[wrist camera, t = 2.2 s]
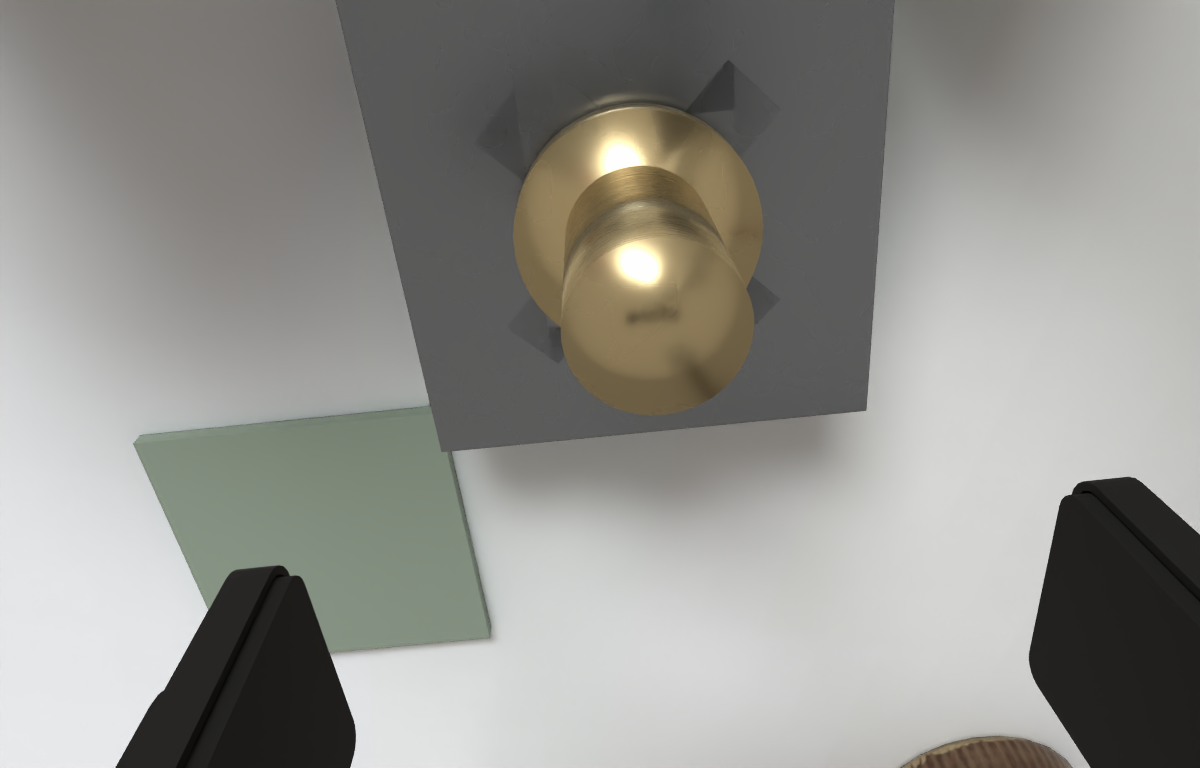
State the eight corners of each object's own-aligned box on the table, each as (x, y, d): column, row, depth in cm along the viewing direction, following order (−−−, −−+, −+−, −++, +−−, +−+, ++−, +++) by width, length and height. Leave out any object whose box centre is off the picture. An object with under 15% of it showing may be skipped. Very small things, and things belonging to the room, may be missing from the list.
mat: (440, 405, 31) (438, 413, 31) (491, 628, 37) (489, 637, 37) (140, 435, 32) (133, 443, 31) (236, 651, 37) (231, 661, 37)
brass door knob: (723, 63, 26) (828, 147, 15) (728, 264, 29) (817, 452, 18) (512, 86, 26) (464, 186, 15) (541, 283, 29) (518, 481, 18)
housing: (840, -79, 24) (900, -85, 19) (825, 344, 30) (866, 410, 26) (375, -25, 24) (330, -20, 20) (461, 380, 31) (441, 452, 26)
